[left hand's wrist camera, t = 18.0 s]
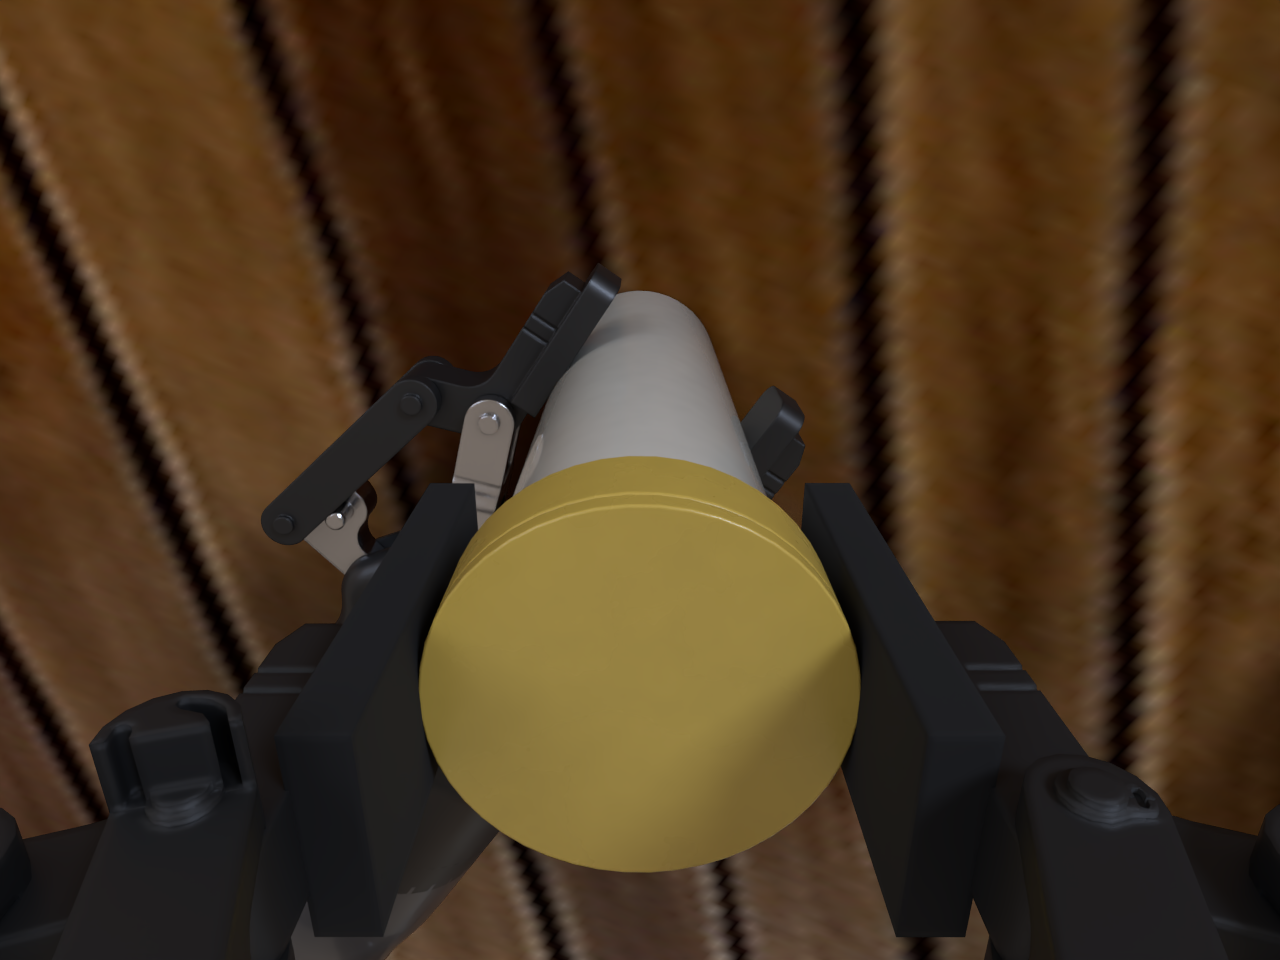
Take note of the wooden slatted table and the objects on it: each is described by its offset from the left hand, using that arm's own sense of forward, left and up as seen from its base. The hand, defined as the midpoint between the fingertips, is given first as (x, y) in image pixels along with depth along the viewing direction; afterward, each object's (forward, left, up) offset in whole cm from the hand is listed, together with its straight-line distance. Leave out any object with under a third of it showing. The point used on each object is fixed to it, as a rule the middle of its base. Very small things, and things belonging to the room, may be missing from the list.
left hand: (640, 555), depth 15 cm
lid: (0, 0, +4) cm, 4 cm away
